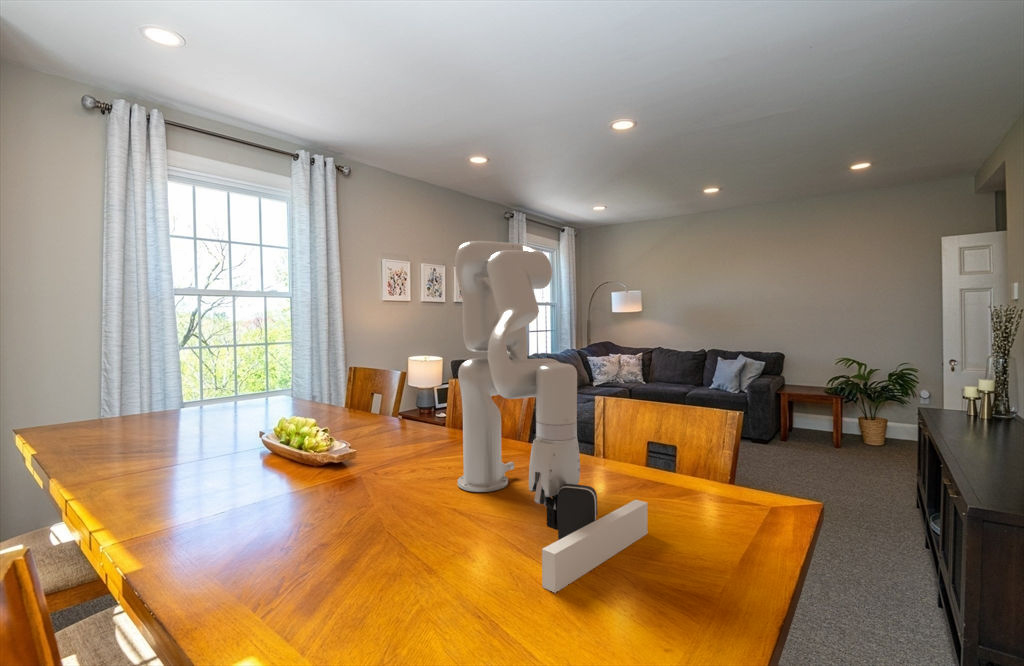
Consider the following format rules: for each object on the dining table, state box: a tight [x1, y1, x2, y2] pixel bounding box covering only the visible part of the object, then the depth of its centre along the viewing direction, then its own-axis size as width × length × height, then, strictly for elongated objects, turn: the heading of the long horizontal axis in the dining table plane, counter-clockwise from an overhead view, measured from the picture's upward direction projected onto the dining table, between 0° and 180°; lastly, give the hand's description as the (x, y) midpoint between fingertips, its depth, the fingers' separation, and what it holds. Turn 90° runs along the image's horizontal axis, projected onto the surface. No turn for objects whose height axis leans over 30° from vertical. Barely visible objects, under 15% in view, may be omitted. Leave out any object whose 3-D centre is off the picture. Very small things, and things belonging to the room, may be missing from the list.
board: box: [541, 499, 649, 594], centre depth 86 cm, size 28×2×6 cm, turn 136°
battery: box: [557, 484, 598, 541], centre depth 90 cm, size 7×4×11 cm, turn 69°
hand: (555, 527), depth 93 cm, fingers closed
